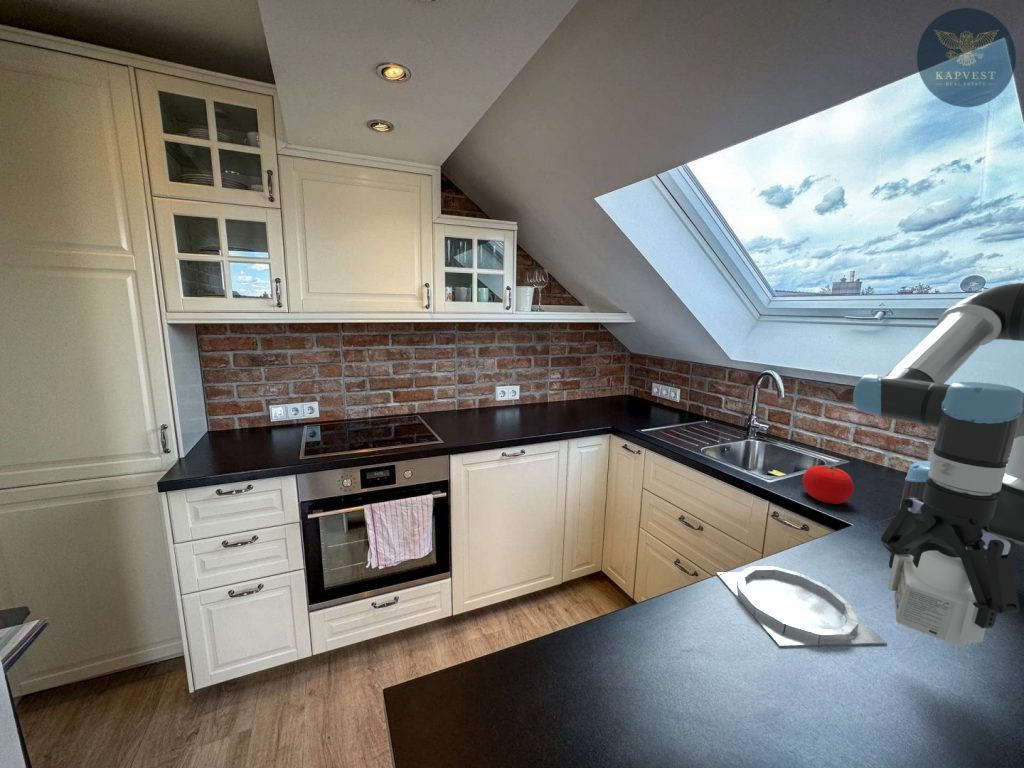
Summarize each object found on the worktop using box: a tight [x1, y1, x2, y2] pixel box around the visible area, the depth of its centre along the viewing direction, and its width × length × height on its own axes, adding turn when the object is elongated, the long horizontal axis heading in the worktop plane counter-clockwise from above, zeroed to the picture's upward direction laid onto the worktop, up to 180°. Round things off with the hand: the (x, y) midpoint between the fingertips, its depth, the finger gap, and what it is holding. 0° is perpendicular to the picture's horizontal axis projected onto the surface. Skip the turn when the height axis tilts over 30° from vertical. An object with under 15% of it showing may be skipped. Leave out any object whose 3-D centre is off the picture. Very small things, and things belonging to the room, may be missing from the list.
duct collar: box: [716, 565, 888, 648], centre depth 83 cm, size 20×20×2 cm
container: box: [893, 543, 976, 649], centre depth 67 cm, size 8×8×13 cm
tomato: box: [802, 464, 855, 505], centre depth 131 cm, size 12×13×11 cm
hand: (930, 612), depth 68 cm, fingers closed on container, 11 cm apart
